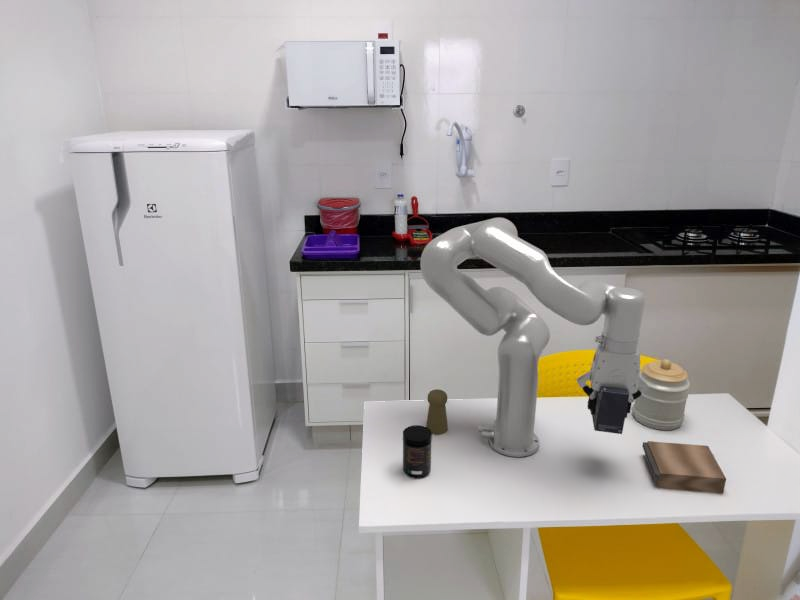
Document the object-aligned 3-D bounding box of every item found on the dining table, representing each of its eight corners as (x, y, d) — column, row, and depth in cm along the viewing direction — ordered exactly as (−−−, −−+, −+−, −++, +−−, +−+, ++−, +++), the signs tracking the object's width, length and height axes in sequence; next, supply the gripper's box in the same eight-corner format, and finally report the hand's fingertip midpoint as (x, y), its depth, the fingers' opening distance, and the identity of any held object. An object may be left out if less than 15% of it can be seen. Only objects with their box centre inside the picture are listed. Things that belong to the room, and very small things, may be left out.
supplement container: (429, 461, 151) (430, 424, 148) (432, 479, 145) (433, 440, 141) (401, 463, 151) (401, 425, 147) (403, 480, 145) (403, 441, 141)
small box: (624, 435, 140) (631, 394, 136) (594, 431, 141) (600, 390, 137) (618, 411, 150) (624, 372, 146) (590, 408, 151) (595, 369, 147)
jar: (678, 409, 175) (688, 351, 168) (687, 434, 163) (698, 373, 157) (629, 403, 177) (637, 347, 171) (634, 427, 166) (643, 368, 159)
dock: (653, 487, 142) (655, 472, 141) (641, 454, 154) (643, 440, 153) (723, 493, 140) (726, 478, 138) (705, 459, 152) (708, 445, 151)
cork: (452, 426, 166) (453, 390, 162) (441, 437, 161) (442, 400, 157) (432, 420, 169) (433, 384, 165) (421, 430, 164) (421, 393, 160)
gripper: (581, 347, 136) (571, 418, 142) (664, 353, 133) (650, 425, 140) (577, 333, 143) (567, 401, 149) (656, 339, 140) (643, 408, 147)
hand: (607, 412), depth 144 cm, fingers closed on small box, 6 cm apart
